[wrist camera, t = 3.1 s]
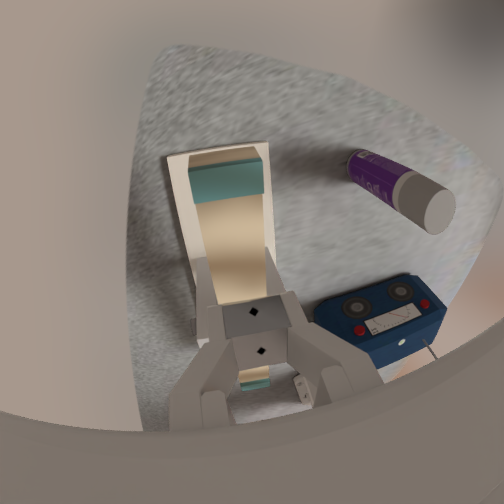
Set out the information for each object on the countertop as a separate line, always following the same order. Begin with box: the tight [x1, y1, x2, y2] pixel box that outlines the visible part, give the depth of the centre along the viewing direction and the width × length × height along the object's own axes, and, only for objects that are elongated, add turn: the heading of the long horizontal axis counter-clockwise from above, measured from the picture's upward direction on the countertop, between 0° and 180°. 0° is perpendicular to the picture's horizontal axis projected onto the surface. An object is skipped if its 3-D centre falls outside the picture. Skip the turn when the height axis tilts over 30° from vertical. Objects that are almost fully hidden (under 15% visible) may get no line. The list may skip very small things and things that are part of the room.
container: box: [346, 149, 456, 235], centre depth 26 cm, size 5×5×15 cm
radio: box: [314, 275, 447, 369], centre depth 37 cm, size 21×9×20 cm, turn 100°
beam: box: [188, 146, 270, 391], centre depth 26 cm, size 32×4×3 cm, turn 5°
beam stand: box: [167, 141, 286, 349], centre depth 30 cm, size 28×11×15 cm, turn 5°
